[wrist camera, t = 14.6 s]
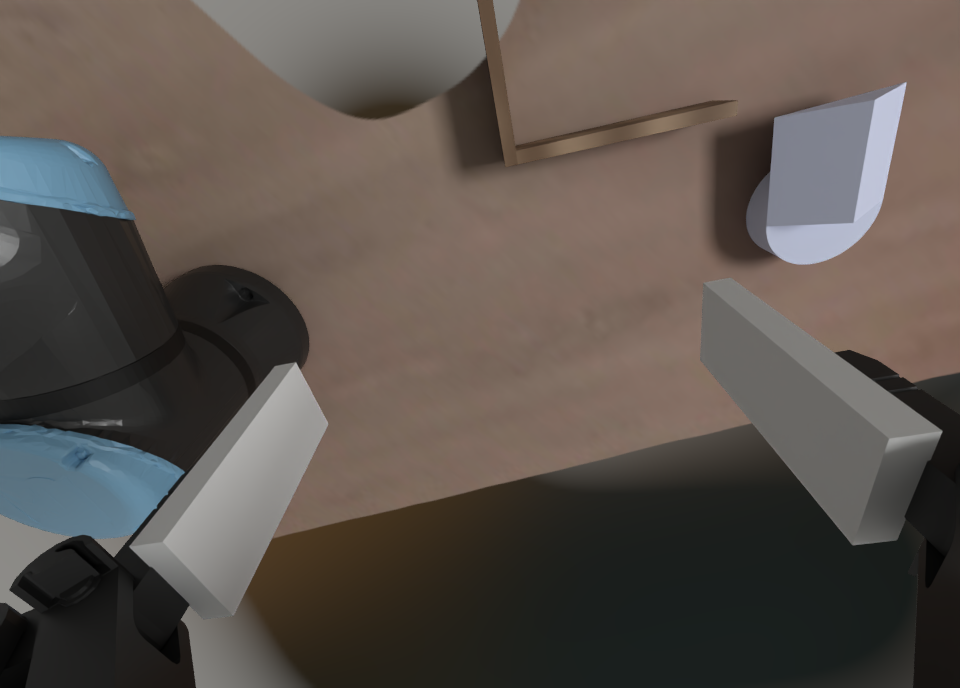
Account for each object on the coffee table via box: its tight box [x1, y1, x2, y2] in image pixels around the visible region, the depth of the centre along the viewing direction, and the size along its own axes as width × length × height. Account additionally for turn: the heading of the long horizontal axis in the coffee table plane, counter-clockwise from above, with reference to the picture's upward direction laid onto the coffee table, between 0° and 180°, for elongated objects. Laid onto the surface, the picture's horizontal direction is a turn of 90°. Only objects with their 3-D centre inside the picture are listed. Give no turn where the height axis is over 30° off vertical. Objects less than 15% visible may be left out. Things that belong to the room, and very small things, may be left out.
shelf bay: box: [477, 0, 738, 167], centre depth 30 cm, size 18×16×4 cm
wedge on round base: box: [746, 82, 907, 264], centre depth 34 cm, size 9×7×13 cm
